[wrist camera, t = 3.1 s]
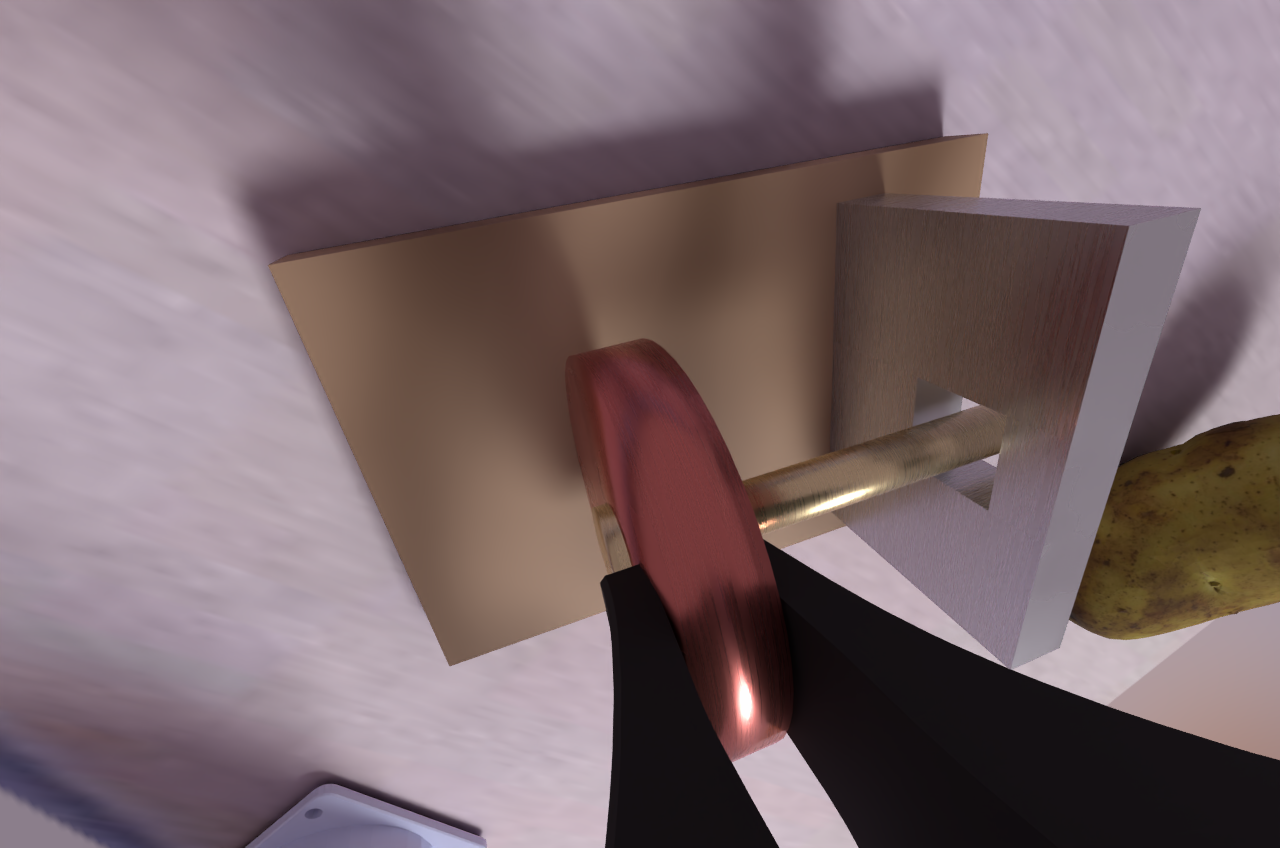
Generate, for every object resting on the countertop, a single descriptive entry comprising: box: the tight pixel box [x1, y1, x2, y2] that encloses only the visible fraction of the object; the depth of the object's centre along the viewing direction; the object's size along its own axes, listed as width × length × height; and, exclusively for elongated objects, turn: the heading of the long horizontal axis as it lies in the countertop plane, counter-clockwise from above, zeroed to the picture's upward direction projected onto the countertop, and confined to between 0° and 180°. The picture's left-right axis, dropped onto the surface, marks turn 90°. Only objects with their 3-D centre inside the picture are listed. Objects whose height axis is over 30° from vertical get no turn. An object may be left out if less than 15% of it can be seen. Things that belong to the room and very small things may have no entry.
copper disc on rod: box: [565, 338, 1007, 762], centre depth 12 cm, size 11×8×8 cm
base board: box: [268, 133, 988, 666], centre depth 16 cm, size 18×12×2 cm, turn 97°
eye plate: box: [830, 193, 1201, 670], centre depth 14 cm, size 2×10×7 cm, turn 7°
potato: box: [1069, 414, 1280, 640], centre depth 23 cm, size 8×13×8 cm, turn 118°
